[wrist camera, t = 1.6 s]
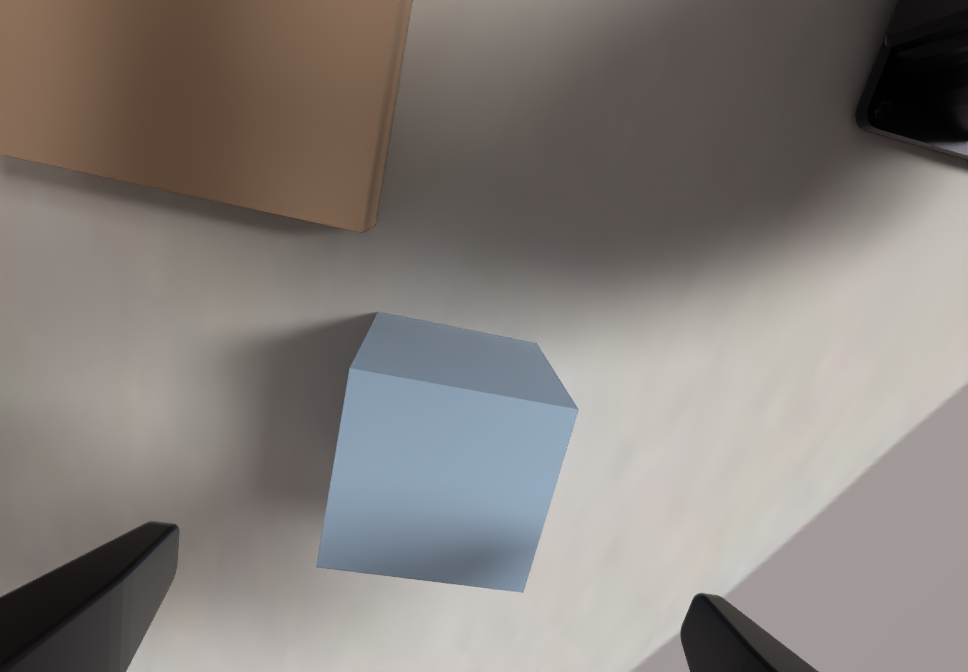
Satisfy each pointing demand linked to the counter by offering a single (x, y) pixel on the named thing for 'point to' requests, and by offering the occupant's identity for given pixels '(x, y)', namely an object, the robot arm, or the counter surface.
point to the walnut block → (210, 97)
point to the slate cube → (445, 456)
